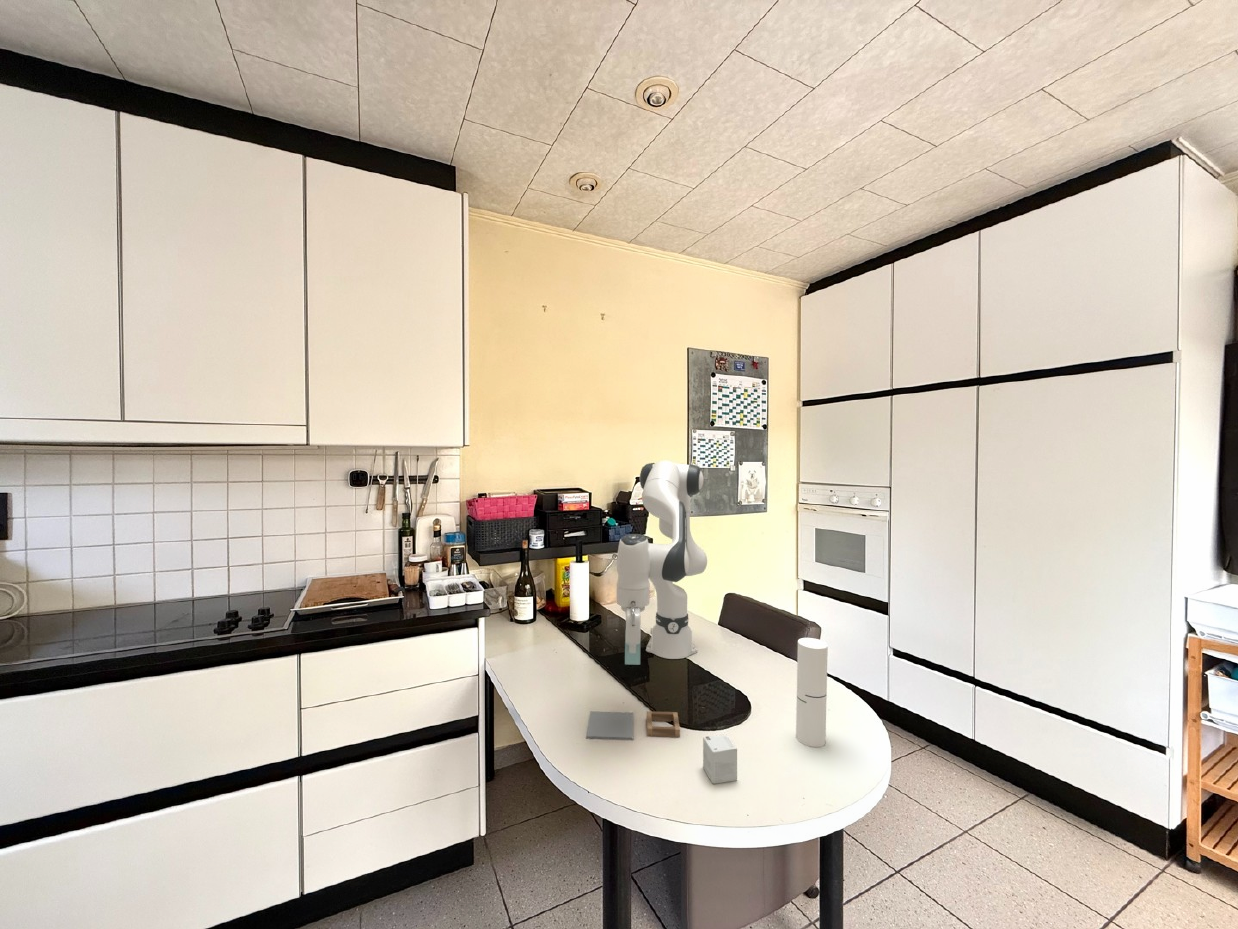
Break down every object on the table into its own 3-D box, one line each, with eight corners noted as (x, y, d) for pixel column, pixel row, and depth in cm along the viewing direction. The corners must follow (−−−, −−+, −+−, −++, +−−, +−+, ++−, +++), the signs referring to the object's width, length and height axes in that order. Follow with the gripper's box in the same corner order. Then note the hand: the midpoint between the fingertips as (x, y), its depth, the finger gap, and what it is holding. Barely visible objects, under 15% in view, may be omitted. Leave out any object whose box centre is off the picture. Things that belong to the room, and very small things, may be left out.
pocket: (646, 718, 134) (646, 711, 134) (677, 719, 134) (677, 712, 134) (647, 736, 126) (647, 728, 126) (679, 737, 126) (680, 729, 125)
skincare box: (737, 781, 109) (738, 748, 109) (712, 784, 108) (712, 752, 108) (726, 764, 115) (726, 733, 115) (702, 767, 114) (702, 736, 114)
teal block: (625, 658, 131) (625, 628, 131) (639, 658, 131) (640, 628, 131) (624, 664, 127) (625, 634, 127) (640, 664, 127) (640, 634, 127)
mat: (590, 713, 137) (590, 711, 137) (633, 714, 136) (633, 712, 136) (586, 738, 125) (586, 736, 125) (632, 740, 124) (632, 737, 124)
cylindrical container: (822, 750, 121) (825, 651, 120) (793, 741, 124) (795, 644, 124) (827, 736, 127) (829, 641, 126) (799, 727, 130) (801, 635, 130)
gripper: (646, 609, 119) (645, 665, 119) (643, 586, 139) (643, 634, 139) (620, 608, 119) (620, 664, 119) (621, 586, 139) (621, 634, 139)
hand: (632, 648), depth 129 cm, fingers closed on teal block, 4 cm apart
